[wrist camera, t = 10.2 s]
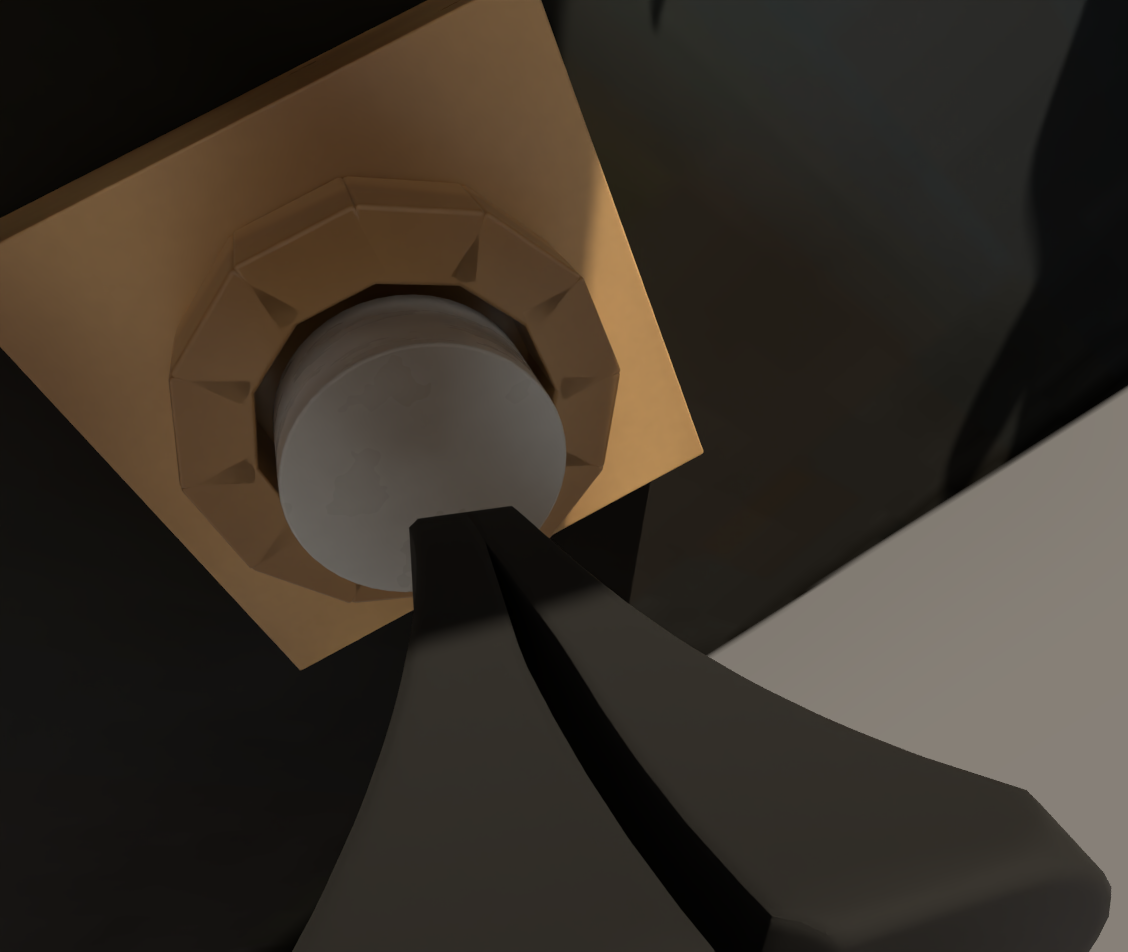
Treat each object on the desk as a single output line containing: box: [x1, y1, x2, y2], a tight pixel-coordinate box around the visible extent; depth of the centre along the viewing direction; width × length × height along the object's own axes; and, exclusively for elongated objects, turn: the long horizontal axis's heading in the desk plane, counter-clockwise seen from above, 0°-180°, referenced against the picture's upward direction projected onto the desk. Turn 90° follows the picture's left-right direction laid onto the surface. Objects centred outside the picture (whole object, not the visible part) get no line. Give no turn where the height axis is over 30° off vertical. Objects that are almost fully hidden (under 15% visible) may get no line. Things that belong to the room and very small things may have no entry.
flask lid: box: [273, 294, 566, 592], centre depth 14 cm, size 4×4×2 cm
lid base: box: [0, 0, 703, 670], centre depth 16 cm, size 10×10×4 cm
